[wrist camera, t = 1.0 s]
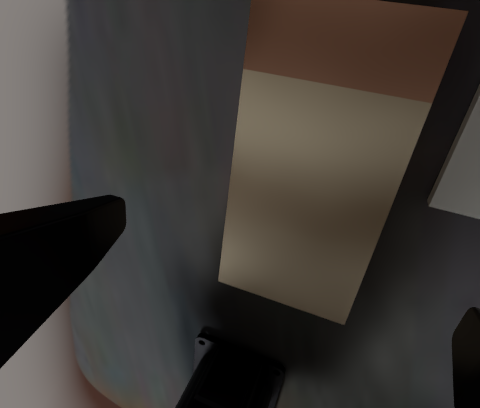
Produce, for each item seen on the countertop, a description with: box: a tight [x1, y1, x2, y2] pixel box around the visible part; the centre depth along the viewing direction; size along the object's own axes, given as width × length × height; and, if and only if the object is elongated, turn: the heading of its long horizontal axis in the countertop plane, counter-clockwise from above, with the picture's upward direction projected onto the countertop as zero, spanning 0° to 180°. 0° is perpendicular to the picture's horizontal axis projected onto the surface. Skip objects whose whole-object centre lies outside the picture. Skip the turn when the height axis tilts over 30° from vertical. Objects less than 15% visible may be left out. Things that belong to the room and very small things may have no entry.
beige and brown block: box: [218, 0, 469, 325], centre depth 14 cm, size 12×6×4 cm, turn 173°
